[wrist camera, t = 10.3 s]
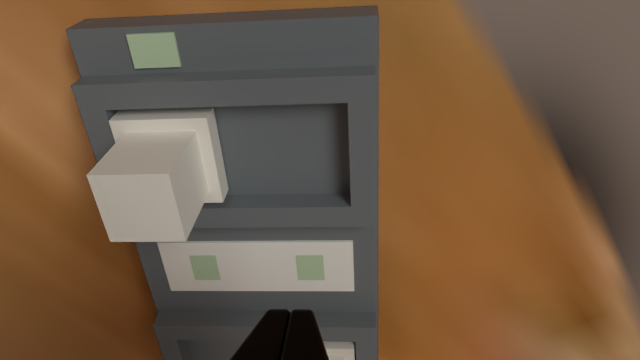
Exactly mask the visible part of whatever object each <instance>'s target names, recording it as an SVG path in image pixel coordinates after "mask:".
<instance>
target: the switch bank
mask: <svg viewBox="0 0 640 360" xmlns="http://www.w3.org/2000/svg"><path fill="white" fill-rule="evenodd" d="M66 33H67V36H68V39H69V42H70V45H71V48H72V51H73V54H74V57H75V60H76V63H77V66H78V69H79V72H80V76H81V78H80V79H79V80H78V81H76V82H75V83H74V84H72V85H71V87H72V90H73V93H74V96H75V99H76V102H77V105H78V108H79V111H80V114H81V117H82V120H83V123H84V126H85V129H86V132H87V135H88V138H89V140H90V143H91V146H92V149H93V152H94V155H95V158H96V161H97V163H98V162H99V161H100V160H101V159H102V158H103V156H104V155H105V154H106V153H107V152H108V151H109V150H110V149H111V148H112V146H113V145H114V144H115V140H114V137H113V134H112V130H111V127H110V124H109V120H110V119H111V118H112V117H113V116H114V115H115V114H116V113H117V112H118V111H119V110H134V109H167V108H201V107H213V108H214V113H215V119H216V124H217V129H218V135H219V140H220V146H221V151H222V156H223V162H224V167H225V173H226V178H227V183H228V189H229V190H228V192H227V194H226V197H225V199H224V202H223V203H204V204H203V206H202V208H201V211H200V213H199V215H198V217H197V219H196V221H195V223H194V226H193V228H192V230H191V232H190V234H189V236H188V238H187V241H186V242H135V245H136V248H137V251H138V254H139V257H140V260H141V263H142V266H143V269H144V272H145V275H146V279H147V282H148V285H149V288H150V291H151V294H152V297H153V300H154V303H155V306H156V309H157V312H158V314H157V317H156V319H155V321H154V323H153V325H152V326H153V329H154V332H155V335H156V338H157V341H158V344H159V347H160V350H161V353H162V356H163V358H164V360H229V359H230V358H231V357H232V356H233V354H234V353H235V352H236V350H237V349H238V348H239V346H240V345H241V344H242V342H243V341H244V340H245V339H246V337H247V336H248V335H249V333H250V332H251V331H252V329H253V328H254V327H255V326H256V324H257V323H258V322H259V320H260V319H261V318H262V316H263V315H264V314H265V312H266V311H267V310H269V309H288V310H290V312H291V311H292V310H293V309H311V310H312V311H313V312H314V315H315V318H316V321H317V324H318V327H319V330H320V333H321V336H322V340H323V341H325V342H355V360H378V65H379V15H378V8H377V6H356V7H335V8H314V9H292V10H271V11H250V12H228V13H207V14H186V15H165V16H143V17H122V18H101V19H84V20H83V21H81V22H79V23H77V24H75V25H73V26H71V27H70V28H68V29H66Z"/></svg>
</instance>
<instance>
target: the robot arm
mask: <svg viewBox="0 0 640 360" xmlns="http://www.w3.org/2000/svg"><path fill="white" fill-rule="evenodd" d="M229 360H329V358H328V355H327V352H326V349H325V346H324V343H323V340H322V336H321V333H320V330H319V327H318V324H317V321H316V318H315V315H314V312H313V311H312V310H311V309H293V310H292V311H291V312H290V310H288V309H269V310H267V311H266V312H265V314H264V315H263V316H262V318H261V319H260V320H259V322H258V323H257V324H256V326H255V327H254V328H253V329H252V331H251V332H250V333H249V335H248V336H247V337H246V339H245V340H244V341H243V342H242V344H241V345H240V346H239V348H238V349H237V350H236V352H235V353H234V354H233V356H232V357H231V358H230V359H229Z"/></svg>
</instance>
